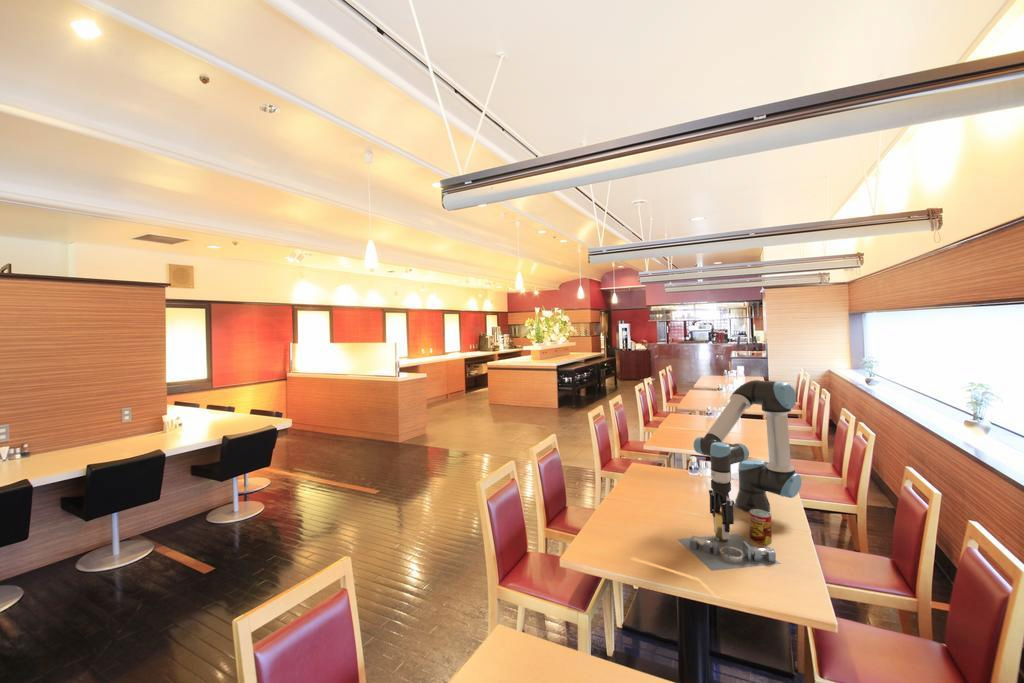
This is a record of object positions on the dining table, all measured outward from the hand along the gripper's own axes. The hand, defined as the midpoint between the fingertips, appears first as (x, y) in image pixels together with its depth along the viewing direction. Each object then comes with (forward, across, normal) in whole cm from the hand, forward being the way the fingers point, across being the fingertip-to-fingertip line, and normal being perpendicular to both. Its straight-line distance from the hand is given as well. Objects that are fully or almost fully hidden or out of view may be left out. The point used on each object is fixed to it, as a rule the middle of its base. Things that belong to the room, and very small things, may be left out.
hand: (721, 535), depth 174 cm
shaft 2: (+2, +16, +5) cm, 17 cm away
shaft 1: (+2, +6, -12) cm, 14 cm away
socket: (+2, +14, -5) cm, 14 cm away
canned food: (+3, +2, +16) cm, 16 cm away
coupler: (+2, 0, 0) cm, 2 cm away
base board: (+3, +8, -4) cm, 10 cm away
